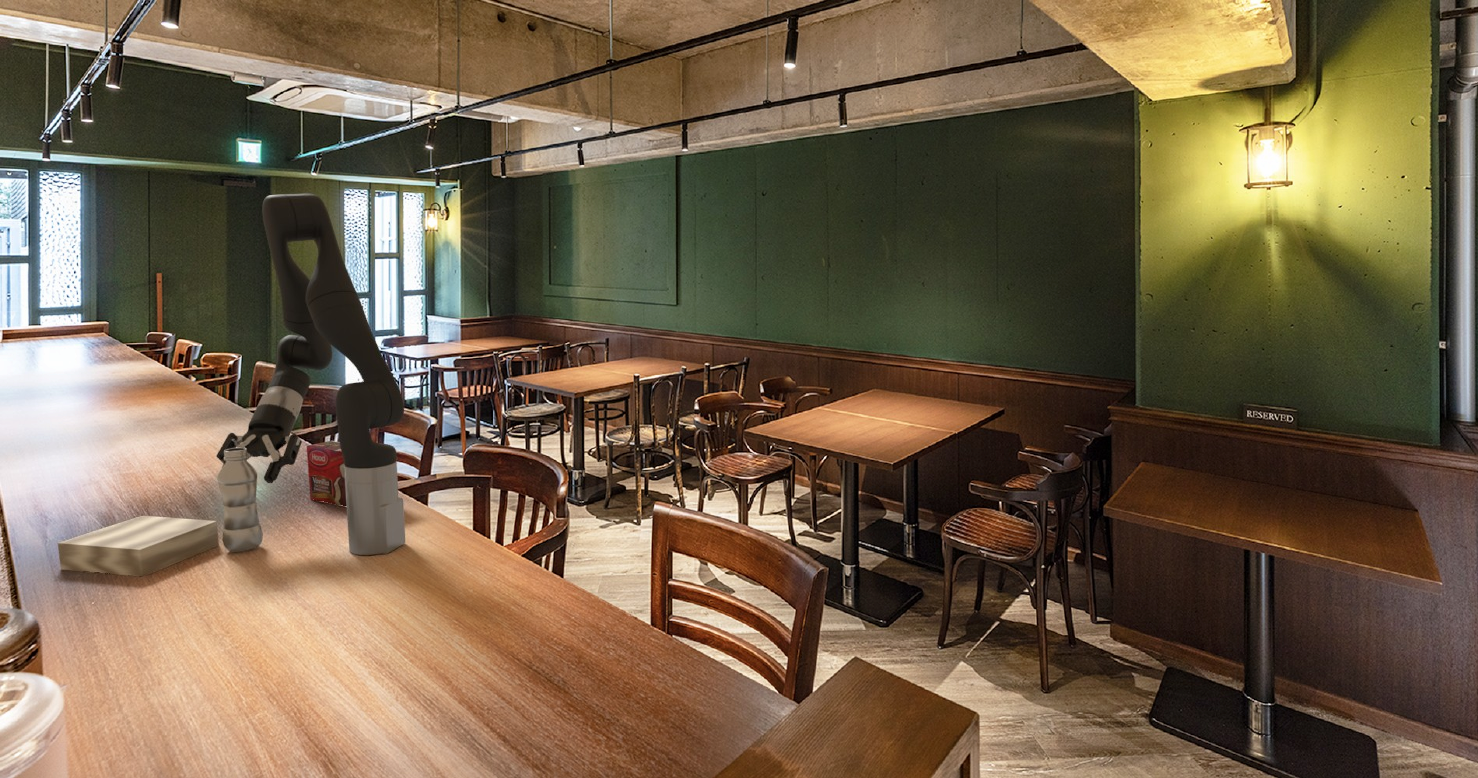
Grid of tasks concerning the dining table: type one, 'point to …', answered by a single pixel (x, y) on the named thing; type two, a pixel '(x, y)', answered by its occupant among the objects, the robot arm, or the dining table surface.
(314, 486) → the ice cream box
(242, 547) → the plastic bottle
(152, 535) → the oak pedestal
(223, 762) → the dining table surface
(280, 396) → the robot arm
